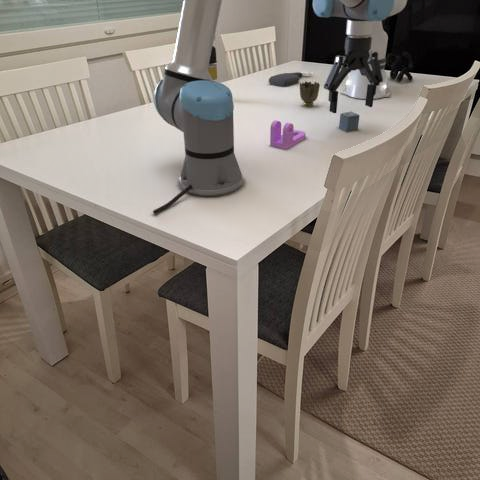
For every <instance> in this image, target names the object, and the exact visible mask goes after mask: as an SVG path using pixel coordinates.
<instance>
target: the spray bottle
mask: <svg viewBox="0 0 480 480" xmlns="http://www.w3.org/2000/svg"><path fill="white" fill-rule="evenodd" d="M314 73H315V72H311V71H303V70H300V71H297V72H284V73H279V74H275V75H272V76H270V77H269V78H268V83H269V84H270V85H274V86H278V87H279V86H280V87H287V86H291V85H296V84H297V83H299V82H300V78H302V77H309V76H314V75H315V74H314Z"/></svg>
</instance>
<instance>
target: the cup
mask: <svg viewBox="0 0 480 480" xmlns="http://www.w3.org/2000/svg"><path fill="white" fill-rule="evenodd" d="M320 86H321V84H320V82H317V81H315V82H313V83H312V81H309V82H308V81H305V82H303V81H302V82H300V83H299V95H300V100H302V102H303V105H304V107H313V105H314V102H316V100H317V99H318V97H319V91H320Z"/></svg>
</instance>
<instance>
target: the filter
mask: <svg viewBox="0 0 480 480" xmlns="http://www.w3.org/2000/svg"><path fill="white" fill-rule="evenodd" d="M216 63H218V61H217V48H216V47H215V46H214V45H213V46H212V51H211V55H210V60H209V65H208V72H209V74H210V76H211V78H212V82H216V80H218V64H216Z"/></svg>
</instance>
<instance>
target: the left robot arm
mask: <svg viewBox="0 0 480 480" xmlns="http://www.w3.org/2000/svg"><path fill="white" fill-rule="evenodd" d="M222 1H223V0H183V1H182V7H181V12H180V13H181V14H180V20H179V25H178V30H177V36H176V41H175V48H174V53H173V59H172V61H171V62H170V63H169V64H167V65H165V68H164V71H163V72H164V73H163V78H162V79H161V80H160V81H159V82H158V83H157V84H156V86H155V88H154V92H153V104H154V108H155V110H156V112H157V114H158V115H159V117H161V118H162V119H163V121H164V122H165V123H167V124H168V125H171V126H172V127H174V128H176V129H177V130H179V131H180V132H182V133H183V143H184V154H185V155H184V158H183V164H182V168H181V171H180V176H179V183H180V184H179V185H180V188H181V189H182V190H181V191H180V192H179V193H177V194H176V196H174V197H173V198H172V199H171V200H169V201H167V203H165V204H163V205H161V206H159V207H157V208H155V209H154V210H152V212H153V214H154V215H158V214H159V213H160V212H163V211H164V210H166V209H168V208H170V207H171V206H172V205H173V204H175V203H176V202H177V201H178V200H180V199H181V198H182V197H183V196H184V195H186V194H190V195H194V196H199V197H221V196H224V195H229V194H232V193H234V192H235V191H237V190H239V189H240V188H241V187H242V185H243V174H242V171H241V168H240V165H239V163H238V160H237V157H236V154H235V132H234V131H235V130H234V127H235V126H234V109H235V105H234V100H233V98H234V97H233V93H232V91H231V89H230V88H229V87H228V86H227V85H226V84H223V83H222V82H219V81H215V82H212V81H213V80H212V78H211V76H210V74H209V72H208V65H209V60H210V55H211V51H212V46H214V41H215V35H216V30H217V26H218V20H219V16H220V11H221V6H222V3H223V2H222ZM393 6H394V0H312V9H313V12H314V14H315V15H316V16H317V17H319V18H330V17H338V18H344V19H346V28H345V35H346V37H345V39H344V40H345V41H344V54H343V55H338V54H336V55H335V56H334V61H333V65H332V67H331V70H330V71H329V73H328V76H327V78H326V80H325V82H324V85H323V89H324V90H327V91H328V102H329V112H330V113H332V114H337V111H338V99H339V91H337V90H338V89H339V87H340V86H341V84H342V83H343V81H344V80H345V79H346V77H347V76H348V75H349V73H350V72H351V71H352V70H353V71H354V70H357V69H358V70H361V69H362V70H363V72H364V74H365V75H366V77H367V79H368V80H369V82H370V84H368V86H367V94H366V99H365V104H364V105H365V106H366V107H368V108H373V106H374V99H373V98H374V95H375V94H376V87H377V86H379V84H380V82H383V78H382V74H381V70H380V66H379V63H378V52H374V51H371V52H370V53H369V50H370V49H371V42H372V38H371V36H370V35H372V34H373V26H374V21H382V22H383V21H384V20H386V19H387V18H388V17H390V16H389V15H390V13H391V11H392V9H393ZM368 59H370V64H371V68H372V71H373V73H372V71H371V69H370V68H369V67H370V66H369V65H368V63H367V61H368Z"/></svg>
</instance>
